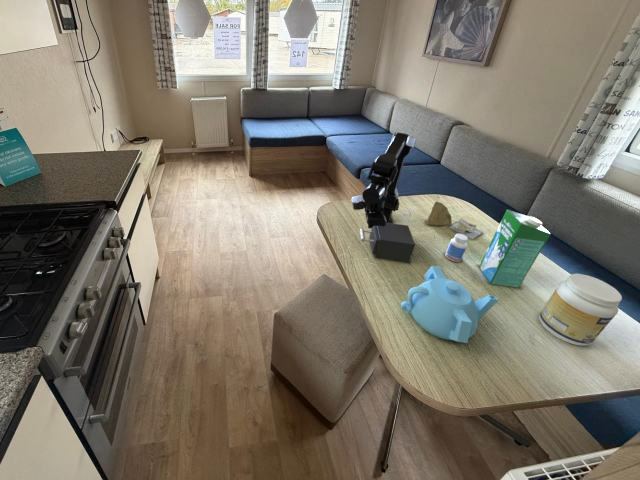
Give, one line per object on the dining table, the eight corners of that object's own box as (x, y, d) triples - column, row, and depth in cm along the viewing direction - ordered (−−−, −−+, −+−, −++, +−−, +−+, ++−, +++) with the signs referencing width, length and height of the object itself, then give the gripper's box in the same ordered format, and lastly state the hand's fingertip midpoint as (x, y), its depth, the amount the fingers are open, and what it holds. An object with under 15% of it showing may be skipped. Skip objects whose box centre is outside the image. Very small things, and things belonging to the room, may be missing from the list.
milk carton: (519, 288, 105) (554, 227, 93) (490, 283, 107) (521, 223, 95) (505, 270, 113) (537, 212, 101) (478, 266, 114) (506, 208, 103)
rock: (453, 216, 141) (430, 207, 145) (461, 208, 133) (436, 199, 137) (446, 236, 138) (422, 226, 142) (452, 230, 130) (428, 219, 134)
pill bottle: (462, 263, 115) (471, 242, 111) (446, 259, 117) (454, 239, 112) (459, 255, 120) (468, 234, 115) (444, 251, 122) (452, 231, 117)
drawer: (359, 252, 118) (362, 237, 115) (357, 235, 128) (360, 221, 125) (402, 259, 115) (407, 244, 112) (397, 241, 125) (401, 227, 122)
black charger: (375, 257, 117) (380, 239, 113) (371, 238, 128) (376, 221, 124) (409, 263, 115) (415, 244, 111) (402, 242, 126) (408, 225, 122)
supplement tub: (585, 356, 83) (623, 312, 75) (531, 324, 92) (559, 282, 84) (595, 333, 90) (631, 291, 82) (544, 306, 98) (571, 265, 90)
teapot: (453, 358, 82) (472, 322, 75) (390, 309, 95) (401, 276, 89) (485, 324, 91) (504, 290, 85) (423, 285, 105) (435, 253, 99)
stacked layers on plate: (448, 227, 136) (452, 217, 134) (458, 222, 141) (462, 211, 138) (472, 239, 129) (477, 228, 126) (482, 233, 133) (487, 222, 131)
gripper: (353, 179, 121) (347, 212, 128) (356, 202, 105) (349, 239, 112) (383, 182, 119) (375, 216, 126) (391, 206, 103) (381, 243, 110)
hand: (369, 227), depth 119 cm, fingers closed
